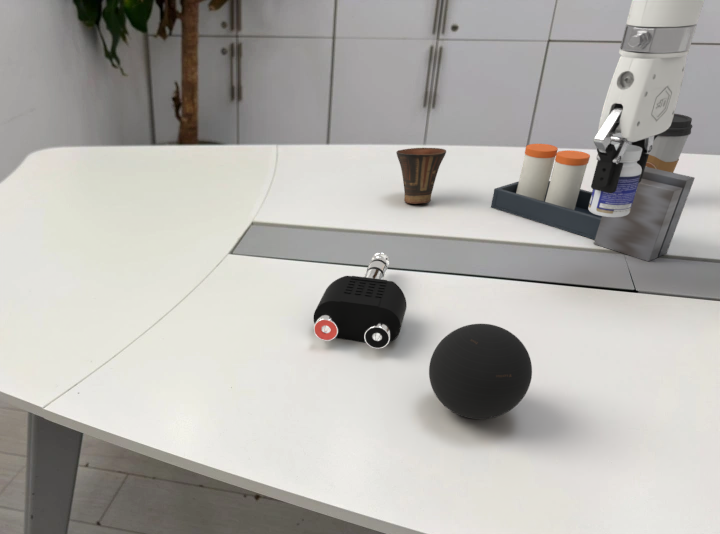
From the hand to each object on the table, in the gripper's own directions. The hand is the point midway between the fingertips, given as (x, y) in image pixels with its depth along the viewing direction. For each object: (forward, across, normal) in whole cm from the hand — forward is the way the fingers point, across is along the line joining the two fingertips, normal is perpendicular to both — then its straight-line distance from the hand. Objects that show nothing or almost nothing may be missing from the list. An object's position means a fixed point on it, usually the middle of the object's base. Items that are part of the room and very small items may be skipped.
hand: (615, 184), depth 93 cm
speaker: (+13, -43, -12) cm, 46 cm away
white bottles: (+13, +18, +21) cm, 30 cm away
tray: (+13, +18, +17) cm, 28 cm away
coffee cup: (+14, +36, +13) cm, 41 cm away
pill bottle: (+4, 0, 0) cm, 4 cm away
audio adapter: (+13, -35, +12) cm, 39 cm away
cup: (+13, +4, +39) cm, 41 cm away
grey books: (+14, +13, +2) cm, 19 cm away
